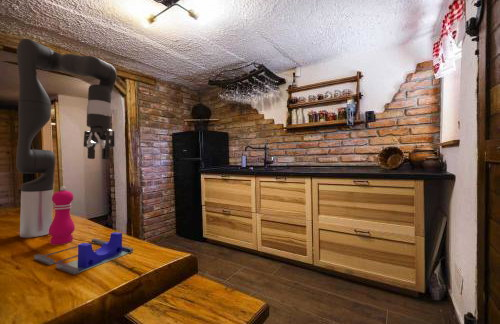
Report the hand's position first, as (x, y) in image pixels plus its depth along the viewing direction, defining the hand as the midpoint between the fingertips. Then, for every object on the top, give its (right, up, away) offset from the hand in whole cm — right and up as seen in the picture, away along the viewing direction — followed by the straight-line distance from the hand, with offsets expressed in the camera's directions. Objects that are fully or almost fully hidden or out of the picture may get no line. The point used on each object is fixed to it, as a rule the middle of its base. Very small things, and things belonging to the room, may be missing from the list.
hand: (98, 159), depth 83 cm
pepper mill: (-12, -30, -1) cm, 32 cm away
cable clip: (+10, -30, -15) cm, 35 cm away
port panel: (+5, -30, -13) cm, 33 cm away
